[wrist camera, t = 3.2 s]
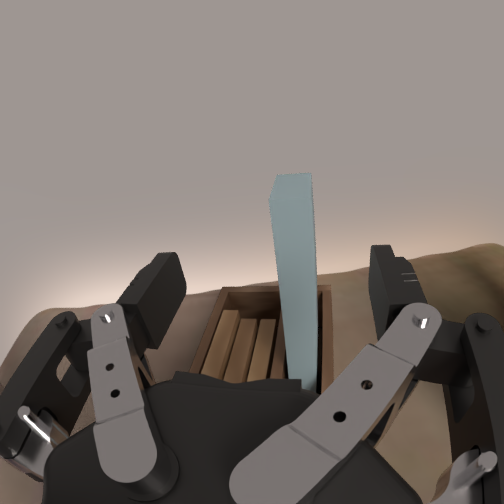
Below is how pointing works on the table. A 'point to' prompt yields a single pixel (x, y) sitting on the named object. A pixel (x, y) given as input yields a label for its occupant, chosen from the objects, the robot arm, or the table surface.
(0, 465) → the table surface
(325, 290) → the rack
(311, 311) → the panel
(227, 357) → the offcuts
